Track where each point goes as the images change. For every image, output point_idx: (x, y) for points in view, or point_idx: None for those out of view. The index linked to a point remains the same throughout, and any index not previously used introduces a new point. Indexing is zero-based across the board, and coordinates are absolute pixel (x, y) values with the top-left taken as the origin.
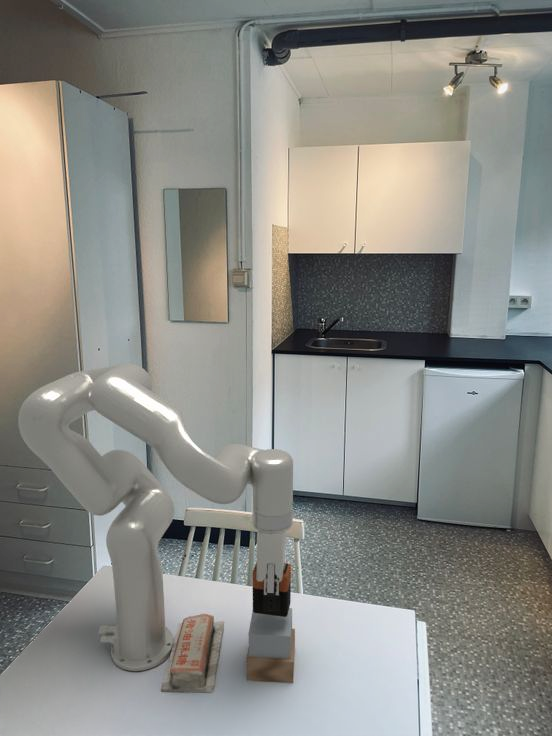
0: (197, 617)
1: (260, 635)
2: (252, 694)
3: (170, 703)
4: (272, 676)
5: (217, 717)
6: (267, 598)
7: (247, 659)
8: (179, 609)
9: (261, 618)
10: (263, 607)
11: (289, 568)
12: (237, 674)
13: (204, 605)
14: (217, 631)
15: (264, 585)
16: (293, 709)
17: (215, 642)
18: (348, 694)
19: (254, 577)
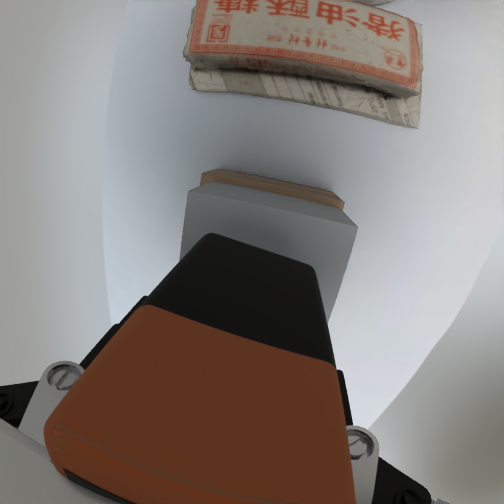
0: (409, 46)
1: (182, 236)
2: (177, 181)
3: (176, 13)
4: None
5: (130, 108)
6: (82, 363)
7: (202, 176)
8: (467, 40)
9: (275, 252)
10: (137, 305)
11: None
12: (239, 147)
13: (480, 97)
14: (385, 105)
15: (28, 412)
16: (140, 262)
17: (344, 94)
18: None
19: (67, 394)
